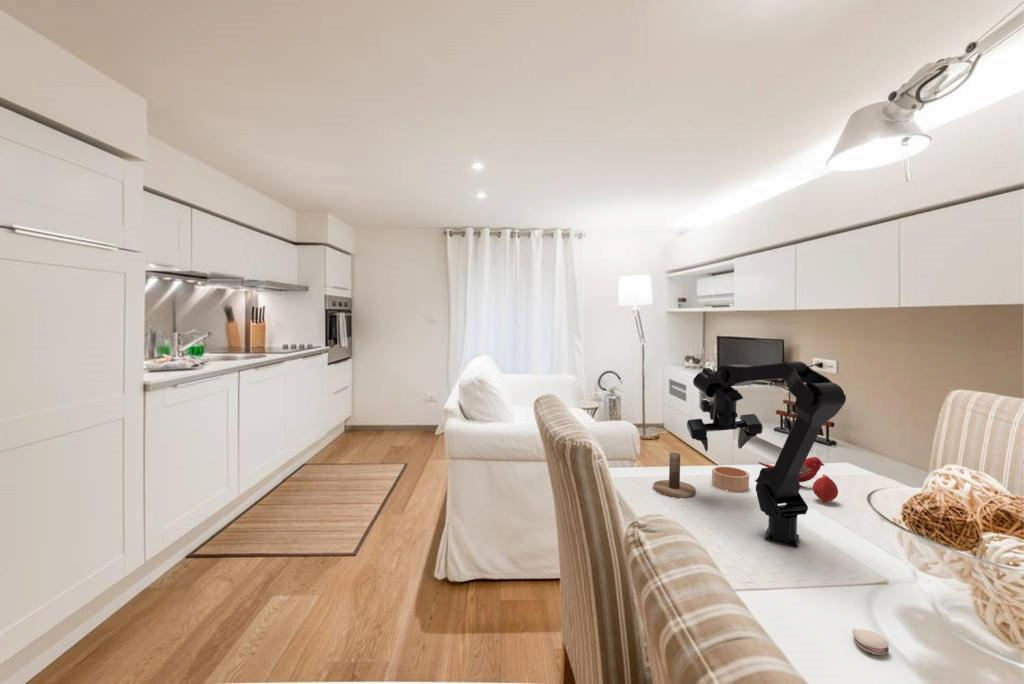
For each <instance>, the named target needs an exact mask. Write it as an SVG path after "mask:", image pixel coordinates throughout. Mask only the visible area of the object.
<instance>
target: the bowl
mask: <svg viewBox="0 0 1024 684" xmlns="http://www.w3.org/2000/svg"><path fill="white" fill-rule="evenodd" d="M711 474H712V475H711V483H712V486H713V485H714V486H713V487H715V488H716V487H717V488H716V489H718V488H720V489H719V490H721V489H723V490H722V491H725V490H728V491H727V492H730V491H733V492H732V493H744V492H743V491H745V492H747V490H748V491H749V487H750V473H749V472H748V471H746V470H744V469H742V468H737V467H733V466H722V465H721V466H715V467H714V466H713V468H712V470H711Z"/></svg>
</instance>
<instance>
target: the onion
mask: <svg viewBox="0 0 1024 684" xmlns="http://www.w3.org/2000/svg"><path fill="white" fill-rule="evenodd" d="M838 488H839V487H838V486H837V484H836V482H834V480H833V479H831V478H830V477H829V476H828V475H827V474H826V473H825V474H822V477H819V478H817V479H816V480H815V481H814V482H813V484H812V491H813V493H814V495H815V496H816V497H817V498H818V499H819V500H820V501H821V502H822V503H824V502H827V503H828V502H831V501H834V500H835V499H836V498H837V497H838V495H839V489H838Z"/></svg>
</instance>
